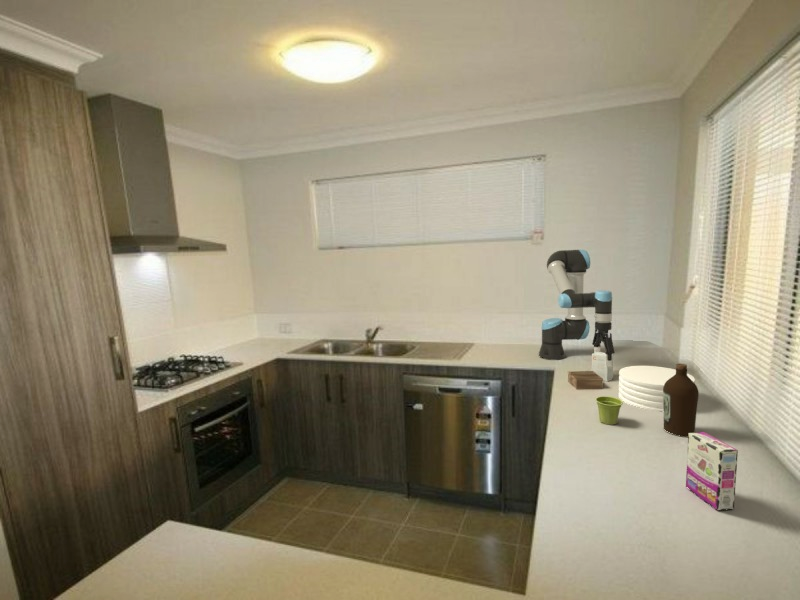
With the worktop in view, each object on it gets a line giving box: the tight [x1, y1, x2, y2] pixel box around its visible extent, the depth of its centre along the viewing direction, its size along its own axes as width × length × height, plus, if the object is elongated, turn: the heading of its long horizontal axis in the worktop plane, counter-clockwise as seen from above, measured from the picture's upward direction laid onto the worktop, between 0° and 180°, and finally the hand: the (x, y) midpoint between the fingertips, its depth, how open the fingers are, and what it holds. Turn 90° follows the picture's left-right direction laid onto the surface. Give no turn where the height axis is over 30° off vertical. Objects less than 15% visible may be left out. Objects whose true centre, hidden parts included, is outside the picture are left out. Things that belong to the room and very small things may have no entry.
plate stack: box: [618, 365, 696, 412], centre depth 182 cm, size 28×28×12 cm
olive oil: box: [663, 363, 700, 437], centre depth 151 cm, size 11×11×25 cm
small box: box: [591, 351, 614, 382], centre depth 212 cm, size 8×6×13 cm
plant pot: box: [595, 395, 624, 425], centre depth 162 cm, size 9×9×9 cm
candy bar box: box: [685, 431, 739, 511], centre depth 112 cm, size 11×5×16 cm, turn 5°
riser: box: [567, 370, 604, 390], centre depth 204 cm, size 12×12×5 cm
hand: (602, 363), depth 212 cm, fingers open, 13 cm apart
